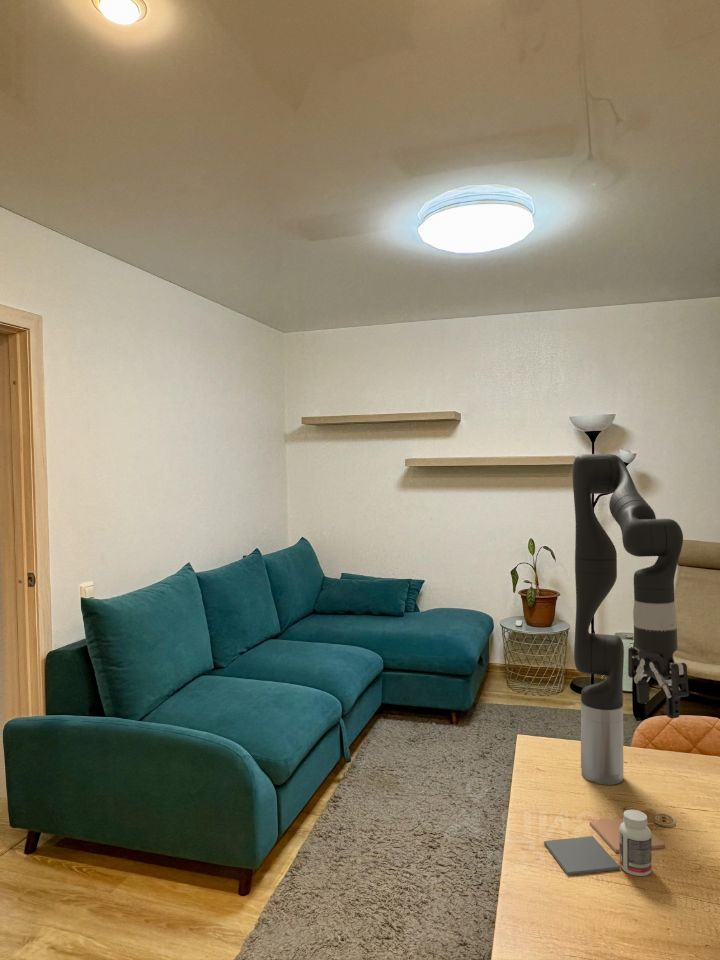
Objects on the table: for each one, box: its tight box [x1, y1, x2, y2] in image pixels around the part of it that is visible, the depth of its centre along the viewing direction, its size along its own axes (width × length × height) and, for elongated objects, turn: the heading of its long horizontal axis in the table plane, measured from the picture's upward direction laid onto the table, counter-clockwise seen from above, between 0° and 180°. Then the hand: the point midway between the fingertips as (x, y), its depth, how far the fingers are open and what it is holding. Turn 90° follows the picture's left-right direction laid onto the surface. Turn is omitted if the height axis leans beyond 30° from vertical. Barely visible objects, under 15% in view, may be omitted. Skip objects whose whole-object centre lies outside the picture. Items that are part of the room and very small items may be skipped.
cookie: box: [622, 806, 677, 830], centre depth 137 cm, size 8×1×10 cm
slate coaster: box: [543, 835, 621, 876], centre depth 125 cm, size 10×10×1 cm
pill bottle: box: [619, 809, 653, 877], centre depth 121 cm, size 5×5×10 cm
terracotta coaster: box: [589, 817, 666, 854], centre depth 131 cm, size 10×10×1 cm
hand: (657, 709), depth 126 cm, fingers open, 8 cm apart
